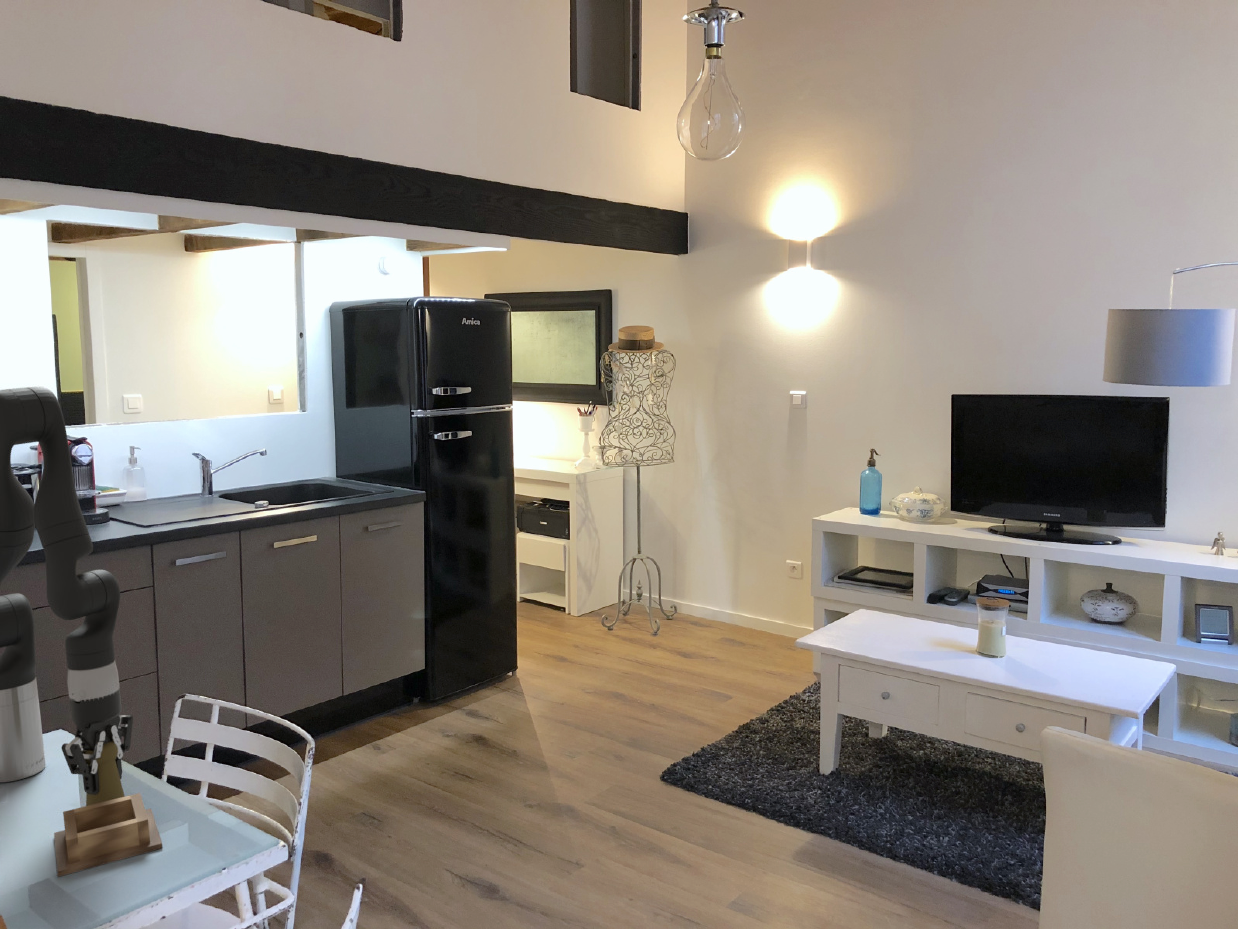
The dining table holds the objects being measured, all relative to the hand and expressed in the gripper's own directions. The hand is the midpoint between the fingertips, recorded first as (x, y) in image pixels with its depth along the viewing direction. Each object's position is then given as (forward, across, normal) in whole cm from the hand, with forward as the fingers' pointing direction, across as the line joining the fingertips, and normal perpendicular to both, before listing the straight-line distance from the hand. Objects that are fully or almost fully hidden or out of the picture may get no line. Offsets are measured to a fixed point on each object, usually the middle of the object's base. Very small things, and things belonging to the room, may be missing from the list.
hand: (104, 786), depth 163 cm
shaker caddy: (+3, +11, +10) cm, 15 cm away
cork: (+4, 0, 0) cm, 4 cm away
